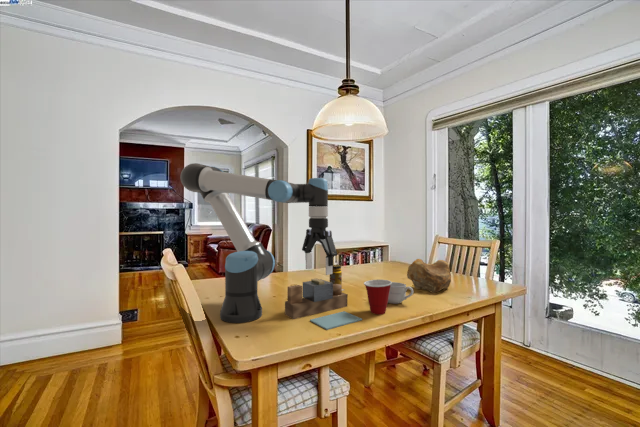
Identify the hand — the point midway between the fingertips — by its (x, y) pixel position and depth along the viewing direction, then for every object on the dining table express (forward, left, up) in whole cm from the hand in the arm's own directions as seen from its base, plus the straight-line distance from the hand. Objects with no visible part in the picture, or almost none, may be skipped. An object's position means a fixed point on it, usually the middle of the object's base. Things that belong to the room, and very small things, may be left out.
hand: (318, 271), depth 122 cm
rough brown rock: (+66, -7, -16) cm, 68 cm away
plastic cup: (+18, -15, -16) cm, 28 cm away
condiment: (+25, +21, -16) cm, 36 cm away
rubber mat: (-1, -13, -15) cm, 20 cm away
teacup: (+34, -11, -16) cm, 39 cm away
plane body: (0, 0, -15) cm, 15 cm away
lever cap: (0, 0, -10) cm, 10 cm away
